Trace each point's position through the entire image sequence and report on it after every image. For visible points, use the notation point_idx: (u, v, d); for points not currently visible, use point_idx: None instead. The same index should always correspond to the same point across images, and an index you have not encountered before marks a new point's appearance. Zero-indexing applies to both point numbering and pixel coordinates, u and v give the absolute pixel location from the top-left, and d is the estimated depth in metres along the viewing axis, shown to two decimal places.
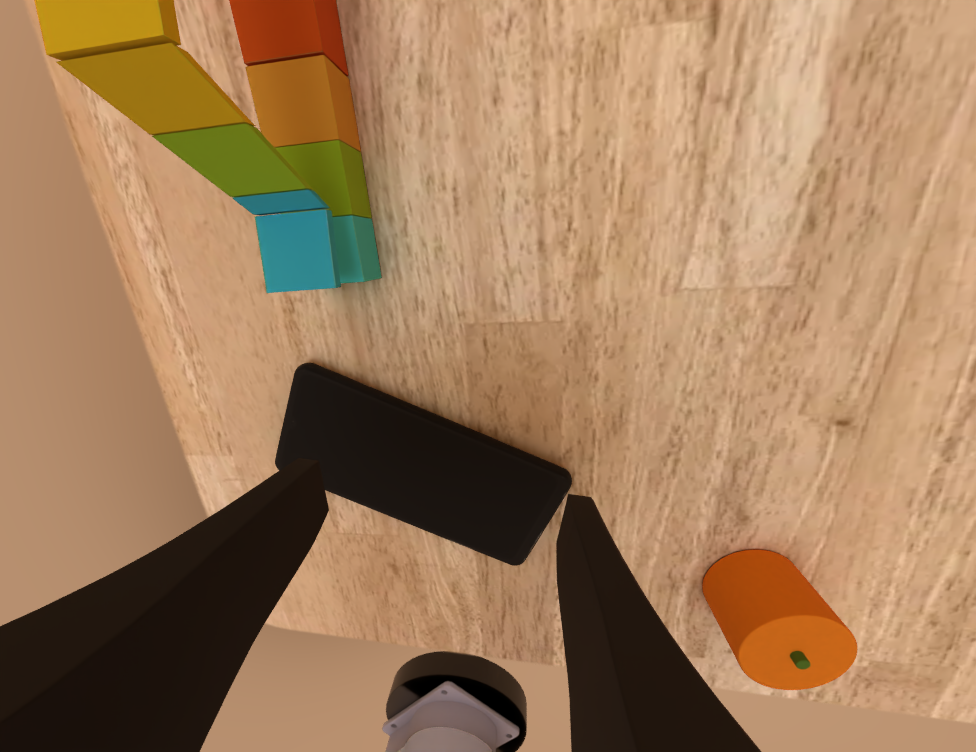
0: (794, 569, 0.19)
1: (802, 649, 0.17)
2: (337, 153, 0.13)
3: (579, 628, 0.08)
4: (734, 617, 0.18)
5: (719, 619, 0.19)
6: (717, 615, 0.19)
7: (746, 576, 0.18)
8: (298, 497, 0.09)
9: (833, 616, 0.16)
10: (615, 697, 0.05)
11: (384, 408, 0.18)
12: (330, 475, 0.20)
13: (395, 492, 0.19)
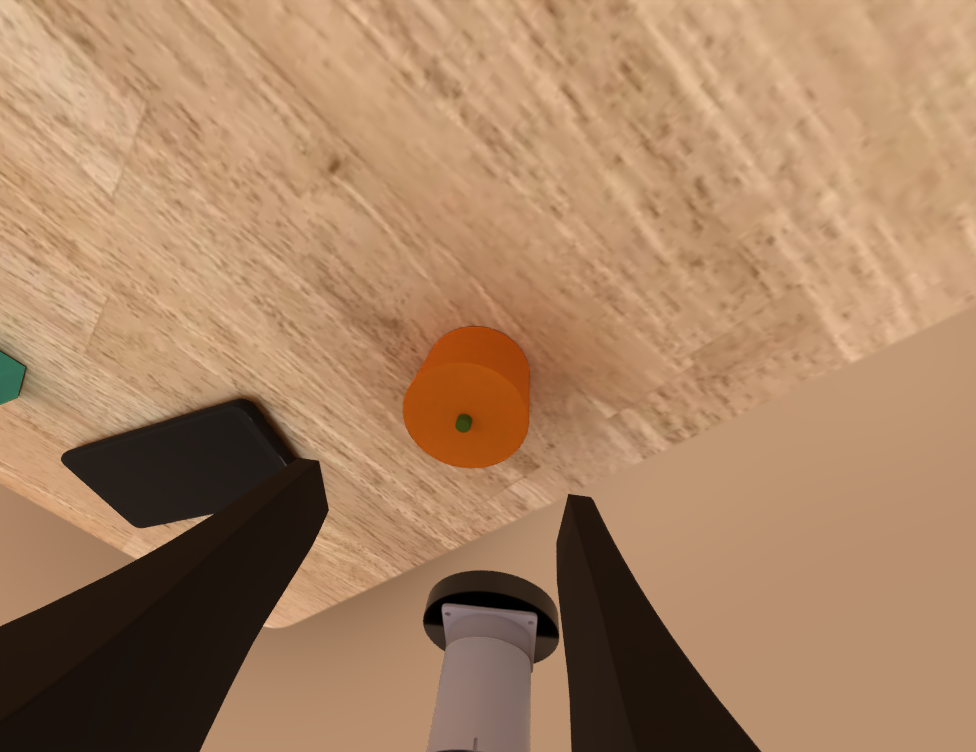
0: (460, 334, 0.16)
1: (459, 411, 0.14)
2: None
3: (579, 628, 0.08)
4: None
5: None
6: None
7: None
8: (298, 497, 0.09)
9: (447, 359, 0.13)
10: (615, 697, 0.05)
11: (112, 447, 0.21)
12: (156, 511, 0.24)
13: (190, 496, 0.23)
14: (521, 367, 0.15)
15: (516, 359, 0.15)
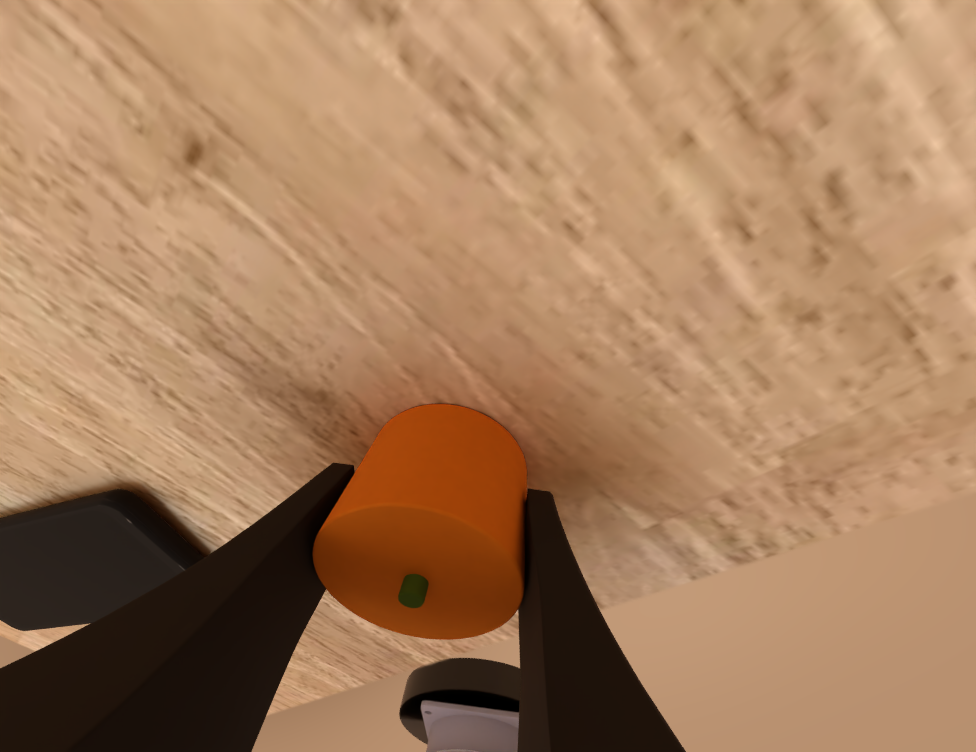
0: (416, 422, 0.10)
1: (405, 571, 0.08)
2: None
3: (528, 620, 0.08)
4: None
5: None
6: None
7: None
8: (336, 502, 0.09)
9: (380, 493, 0.08)
10: (542, 686, 0.05)
11: None
12: (37, 615, 0.18)
13: (74, 602, 0.17)
14: (513, 479, 0.09)
15: (505, 466, 0.09)
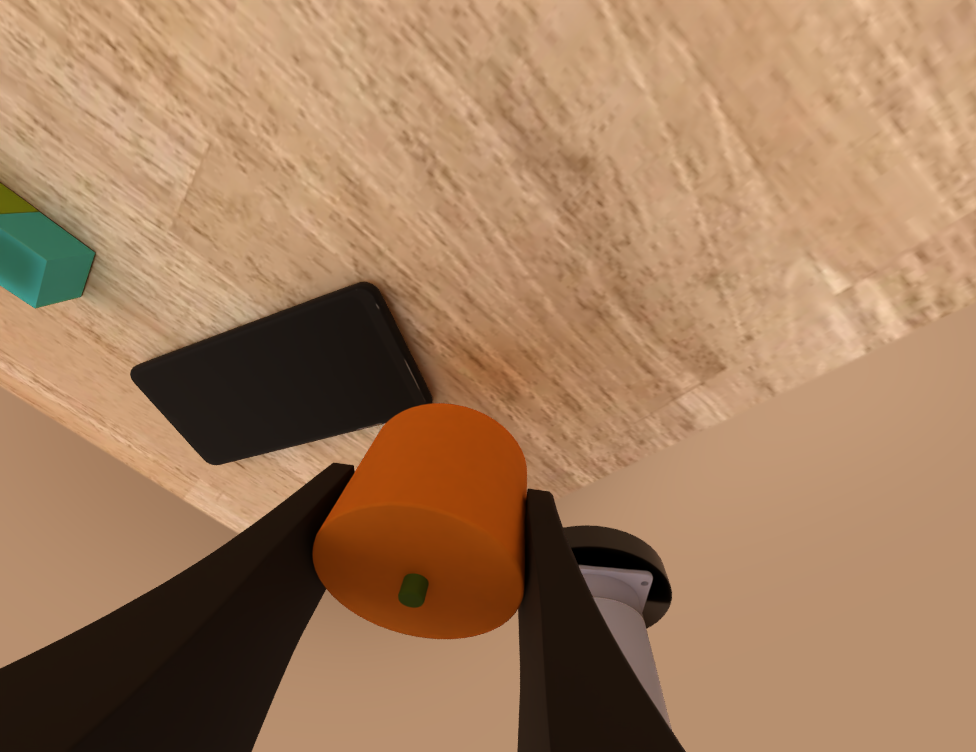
0: (416, 421, 0.10)
1: (405, 570, 0.08)
2: None
3: (528, 620, 0.08)
4: None
5: None
6: None
7: None
8: None
9: (380, 492, 0.08)
10: (542, 686, 0.05)
11: (196, 355, 0.18)
12: (237, 442, 0.20)
13: (282, 420, 0.19)
14: (513, 479, 0.09)
15: (505, 465, 0.09)
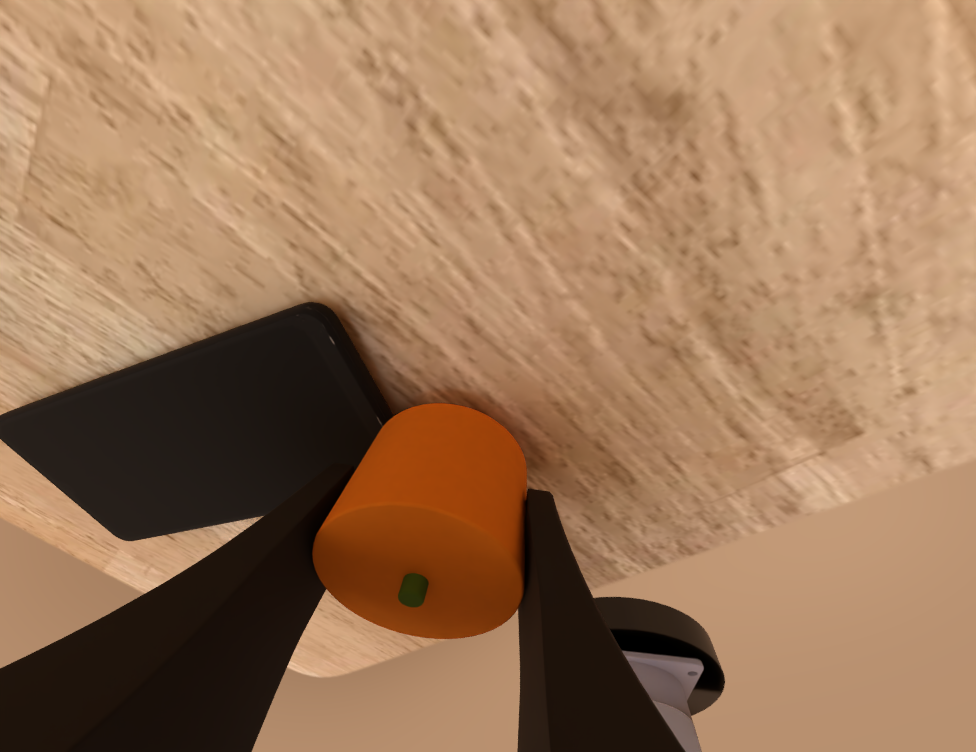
0: (416, 421, 0.10)
1: (405, 570, 0.08)
2: None
3: (528, 620, 0.08)
4: None
5: None
6: None
7: None
8: None
9: (380, 492, 0.08)
10: (542, 685, 0.05)
11: (76, 405, 0.12)
12: (153, 515, 0.15)
13: (209, 490, 0.14)
14: (513, 478, 0.09)
15: (504, 465, 0.09)
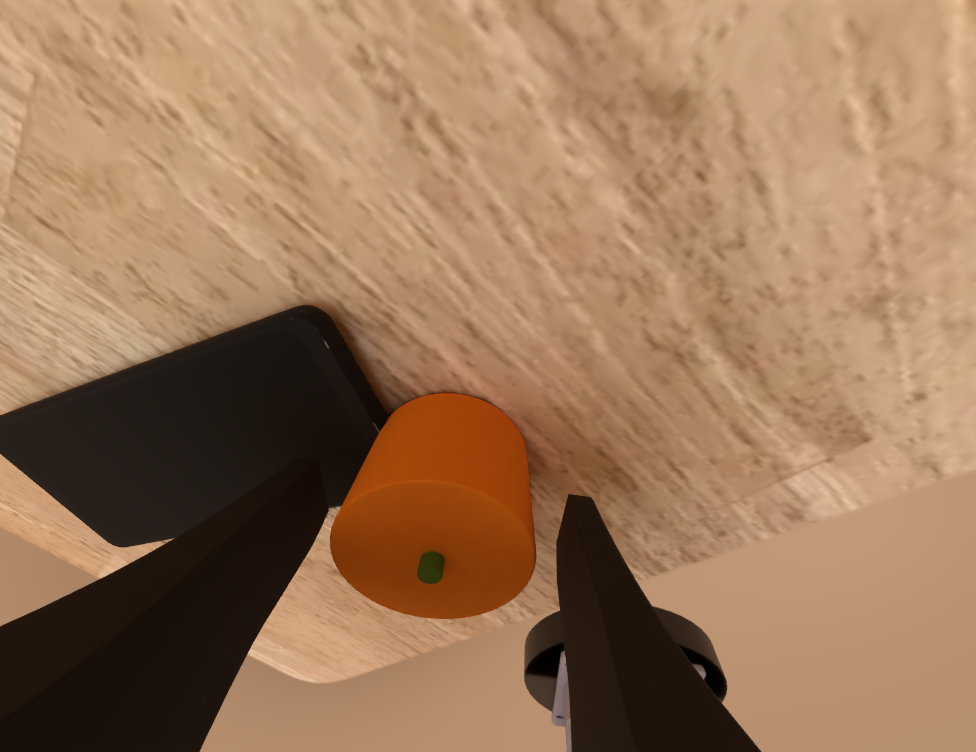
0: (423, 410, 0.10)
1: (422, 548, 0.09)
2: None
3: (579, 628, 0.08)
4: None
5: None
6: None
7: None
8: (298, 497, 0.09)
9: (399, 472, 0.08)
10: (615, 698, 0.05)
11: (66, 410, 0.12)
12: (146, 522, 0.14)
13: (203, 496, 0.13)
14: (518, 459, 0.10)
15: (510, 447, 0.10)
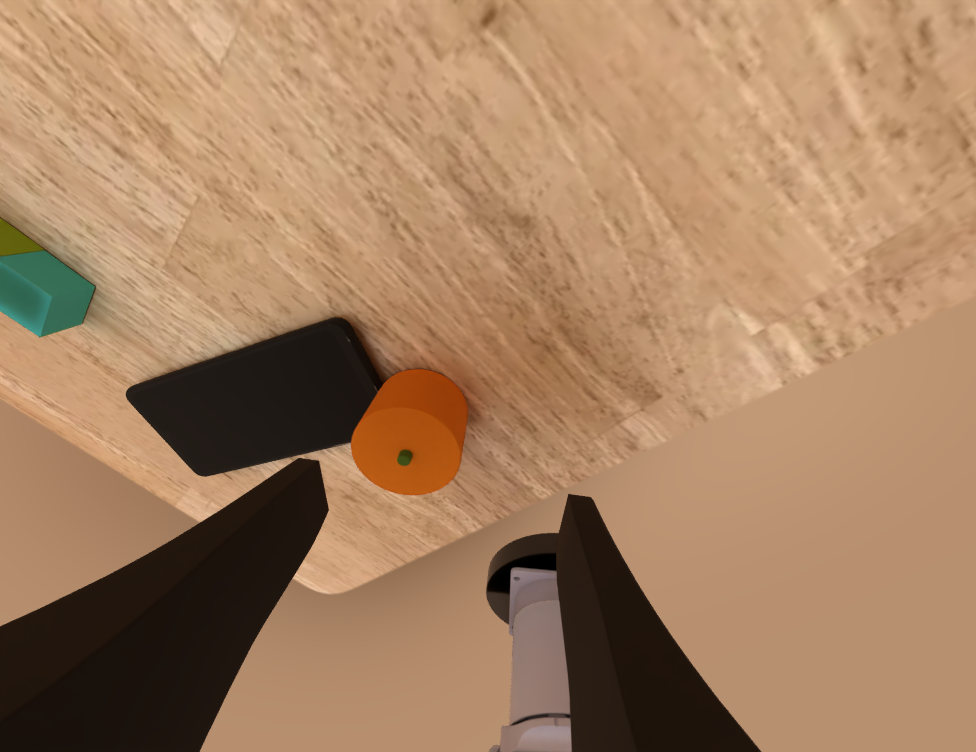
0: (403, 377, 0.18)
1: (400, 447, 0.16)
2: None
3: (579, 628, 0.08)
4: None
5: None
6: None
7: None
8: (298, 497, 0.09)
9: (388, 404, 0.16)
10: (615, 697, 0.05)
11: (186, 379, 0.20)
12: (224, 456, 0.22)
13: (265, 436, 0.21)
14: (456, 405, 0.18)
15: (452, 398, 0.18)
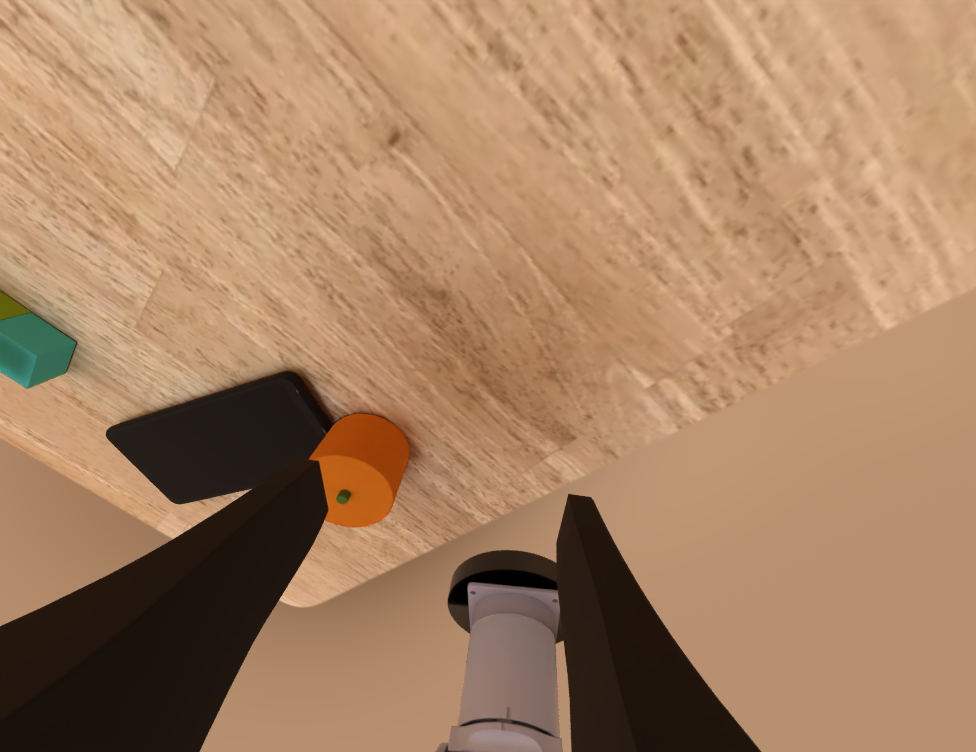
0: (346, 423, 0.20)
1: (339, 488, 0.19)
2: None
3: (579, 628, 0.08)
4: None
5: None
6: None
7: None
8: (298, 497, 0.09)
9: (326, 452, 0.18)
10: (615, 698, 0.05)
11: (158, 422, 0.22)
12: (196, 487, 0.24)
13: (231, 471, 0.23)
14: (393, 448, 0.20)
15: (389, 441, 0.20)
